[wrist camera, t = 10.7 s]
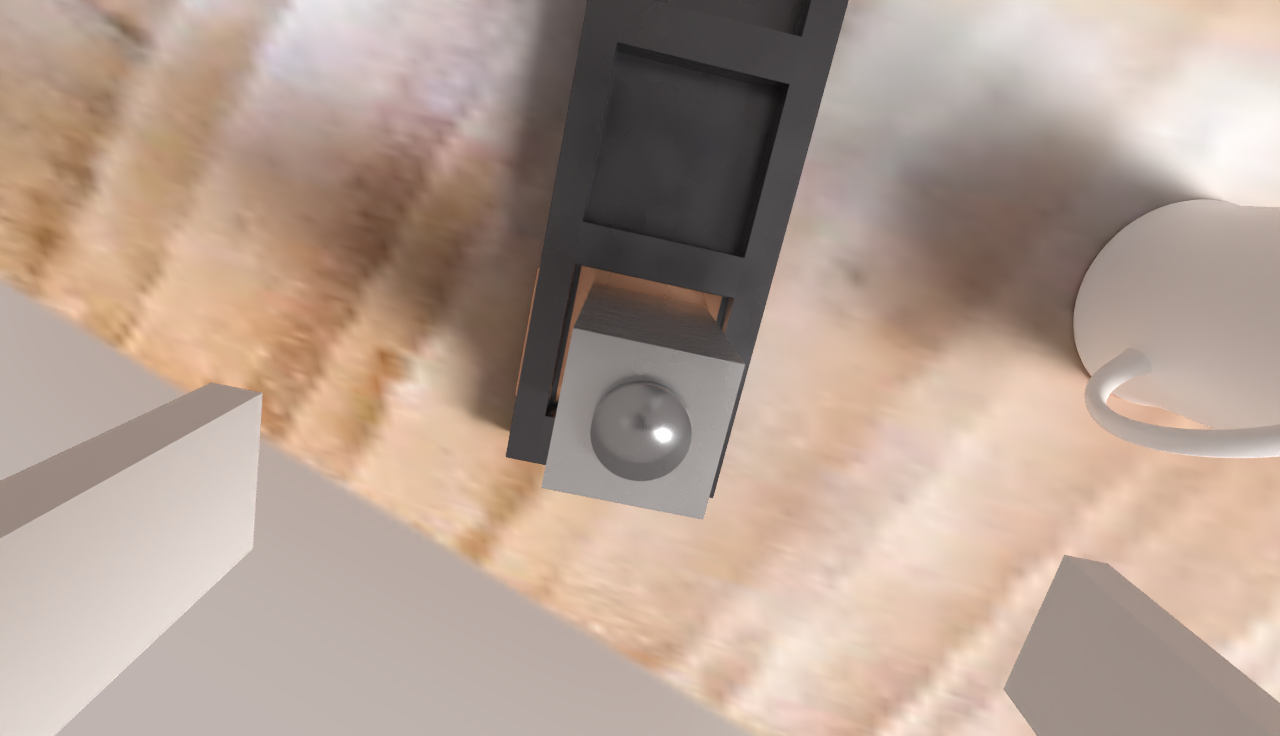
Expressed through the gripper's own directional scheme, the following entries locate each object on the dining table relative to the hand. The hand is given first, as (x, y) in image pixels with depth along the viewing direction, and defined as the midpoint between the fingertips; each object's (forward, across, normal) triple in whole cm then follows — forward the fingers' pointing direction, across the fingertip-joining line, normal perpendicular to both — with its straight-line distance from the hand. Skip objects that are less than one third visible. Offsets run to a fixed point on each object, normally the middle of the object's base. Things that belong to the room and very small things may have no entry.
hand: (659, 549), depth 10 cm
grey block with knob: (+16, 0, -1) cm, 16 cm away
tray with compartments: (+17, 0, +7) cm, 18 cm away
